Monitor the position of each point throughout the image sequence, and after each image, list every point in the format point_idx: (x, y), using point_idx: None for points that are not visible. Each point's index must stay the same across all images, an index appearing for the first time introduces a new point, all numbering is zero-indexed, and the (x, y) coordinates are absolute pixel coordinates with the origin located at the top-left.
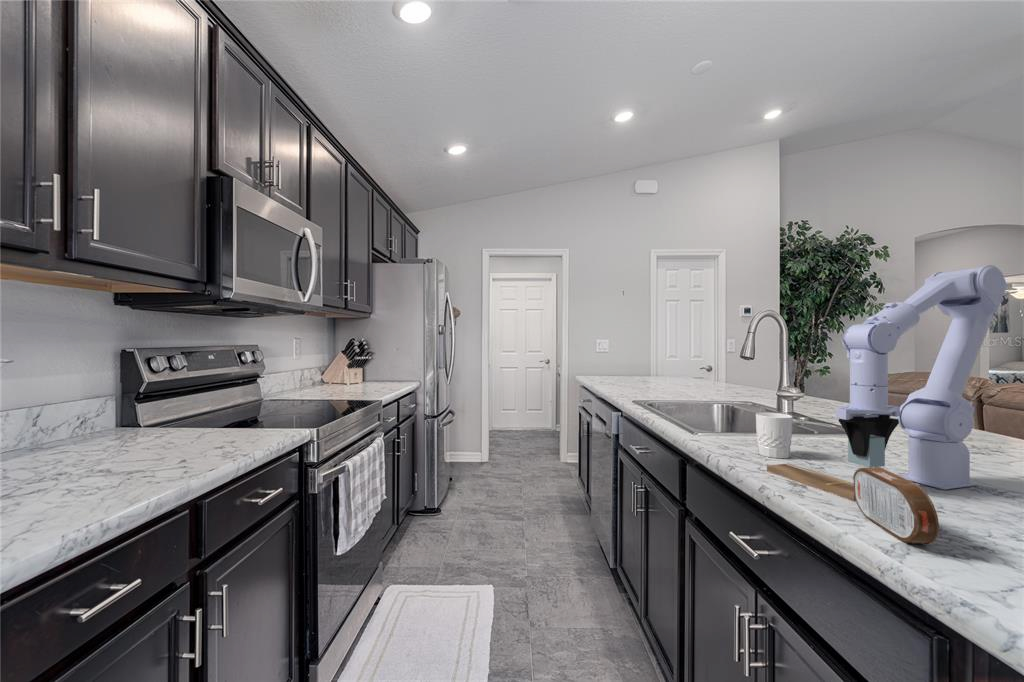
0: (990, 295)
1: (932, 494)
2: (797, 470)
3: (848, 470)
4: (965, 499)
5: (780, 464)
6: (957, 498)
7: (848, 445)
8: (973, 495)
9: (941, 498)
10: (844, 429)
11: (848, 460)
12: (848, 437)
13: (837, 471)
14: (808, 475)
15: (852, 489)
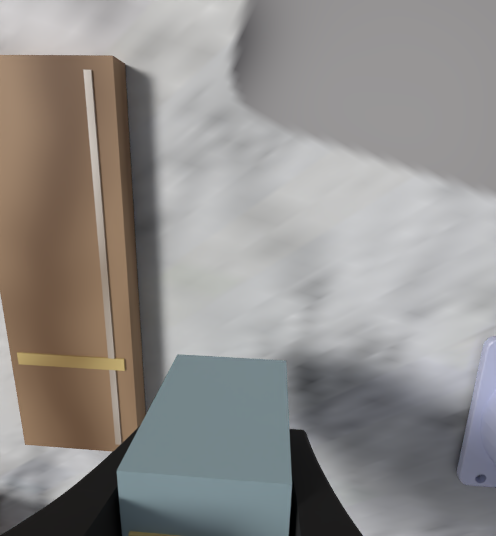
0: None
1: (363, 477)
2: (54, 177)
3: (409, 183)
4: (406, 531)
5: (51, 60)
6: (394, 519)
7: (147, 413)
8: (487, 524)
9: (343, 503)
10: (13, 530)
11: (175, 360)
12: (74, 488)
13: (335, 178)
14: (40, 253)
15: (62, 418)
